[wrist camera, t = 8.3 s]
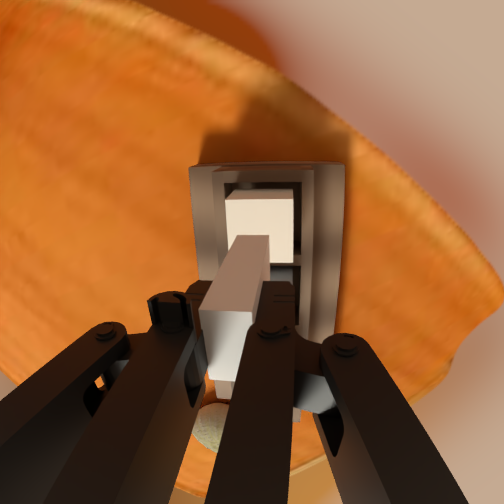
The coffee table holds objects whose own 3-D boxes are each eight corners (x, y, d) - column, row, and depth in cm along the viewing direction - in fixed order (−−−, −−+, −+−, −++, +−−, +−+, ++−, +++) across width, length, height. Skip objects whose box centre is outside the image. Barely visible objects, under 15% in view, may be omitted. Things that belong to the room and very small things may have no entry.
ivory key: (234, 189, 22) (225, 199, 18) (292, 188, 21) (293, 199, 18) (237, 243, 23) (229, 262, 20) (292, 243, 22) (292, 262, 19)
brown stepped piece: (197, 164, 26) (175, 172, 21) (339, 161, 24) (352, 169, 19) (221, 383, 35) (211, 417, 30) (322, 386, 33) (324, 422, 28)
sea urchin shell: (208, 450, 39) (183, 461, 32) (202, 401, 42) (176, 404, 35) (268, 449, 37) (252, 463, 30) (262, 397, 40) (245, 401, 33)
